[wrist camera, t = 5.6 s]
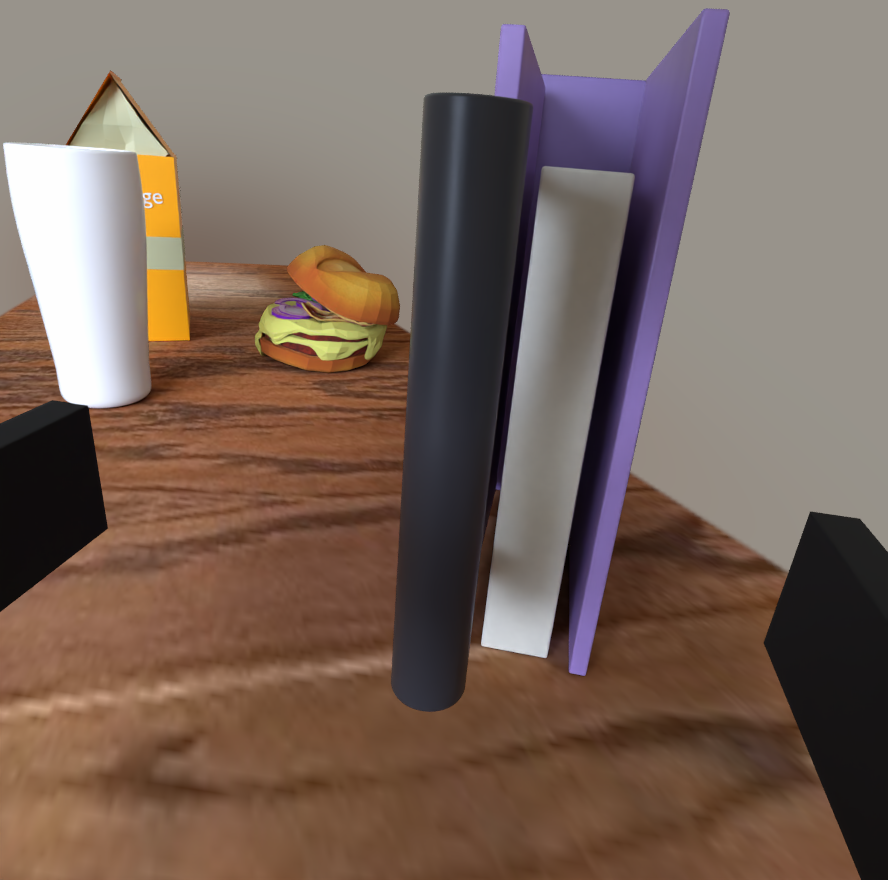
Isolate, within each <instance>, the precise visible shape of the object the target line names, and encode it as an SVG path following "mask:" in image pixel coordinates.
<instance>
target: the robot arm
mask: <svg viewBox="0 0 888 880" xmlns="http://www.w3.org/2000/svg"><path fill="white" fill-rule="evenodd" d="M106 529H108V527H107V520H106V514H105V508H104V502H103V495H102V489H101V483H100V477H99V471H98V464H97V458H96V452H95V446H94V439H93V433H92V427H91V421H90V414H89V408H88V406H87V405H80V404H74V403H67V402H60V401H53V400H52V401H50V402H48V403H45V404H43V405H41V406H39V407H36V408H34V409H32V410H30V411H27V412H25V413H23V414H21V415H18V416H16V417H14V418H12V419H9V420H7V421H5V422H3V423H0V612H1V611H2V610H3V609H5V608H6V607H7V606H8V605H10V604H11V603H12V602H14V601H15V600H16V599H17V598H19V597H20V596H21V595H23V594H24V593H25V592H27V591H28V590H29V589H30V588H32V587H33V586H34V585H36V584H37V583H38V582H39V581H41V580H42V579H43V578H45V577H46V576H47V575H48V574H50V573H51V572H52V571H54V570H55V569H56V568H57V567H59V566H60V565H61V564H63V563H64V562H65V561H66V560H68V559H69V558H70V557H72V556H73V555H74V554H75V553H77V552H78V551H79V550H81V549H82V548H83V547H84V546H86V545H87V544H88V543H90V542H91V541H92V540H93V539H95V538H96V537H97V536H99V535H100V534H101V533H102V532H104V531H105V530H106ZM764 645H765V647H766V650H767V652H768V654H769V657H770V659H771V662H772V664H773V667H774V669H775V671H776V674H777V676H778V679H779V681H780V684H781V686H782V688H783V691H784V693H785V696H786V698H787V701H788V703H789V705H790V708H791V710H792V713H793V715H794V718H795V720H796V722H797V725H798V727H799V730H800V732H801V735H802V737H803V739H804V742H805V744H806V747H807V749H808V752H809V754H810V756H811V759H812V761H813V764H814V766H815V769H816V771H817V774H818V776H819V778H820V781H821V783H822V786H823V788H824V791H825V793H826V795H827V798H828V800H829V803H830V805H831V808H832V810H833V812H834V815H835V817H836V820H837V822H838V825H839V827H840V829H841V832H842V834H843V837H844V839H845V842H846V844H847V846H848V849H849V851H850V854H851V856H852V859H853V861H854V863H855V866H856V868H857V871H858V873H859V876H860V878H861V880H888V552H887V551H886V550H885V548H884V547H883V546H882V545H881V544H880V542H879V541H878V540H877V539H876V538H875V536H874V535H873V534H872V533H871V532H870V530H869V529H868V528H867V527H866V526H865V524H864V523H863V522H862V521H861V520H860V519H857V518H851V517H844V516H837V515H830V514H823V513H816V512H810V514H809V517H808V519H807V522H806V525H805V528H804V531H803V533H802V536H801V539H800V542H799V545H798V547H797V550H796V553H795V556H794V559H793V562H792V565H791V567H790V570H789V573H788V576H787V578H786V581H785V584H784V587H783V590H782V593H781V595H780V598H779V601H778V604H777V607H776V610H775V612H774V615H773V618H772V621H771V624H770V626H769V629H768V632H767V635H766V638H765V641H764Z"/></svg>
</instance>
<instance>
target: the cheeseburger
mask: <svg viewBox="0 0 888 880" xmlns="http://www.w3.org/2000/svg"><path fill="white" fill-rule="evenodd" d="M287 271H288V273H289V275H290V276H291V278H292V279H293V280H294V281H295V282H296V283H297V284H298V285H299V286H300V288H301V289H302V290H303V291H304V292H303V291H302V292H298V293H293V296H295V297H299V298H282V299H279V300H277V301H275V303H274V304H271V305H268V306H267V308H266V310H265V311H264V313H263V315H262V317H261V319H260V320H261V321H260V323H259V329H260V330H259V331H258V332H257V334H256V335H255V345H256V347H257V349H258V351H259V352H260V354H261V355H262V356H264V355H268V356H269V357H271V358H273V359H274V360H277V361H280V362H283V363H285V364H288V365H291V366H295V367H298V368H301V369H304V370H308V371H317V372H327V373H330V372H339V371H347V370H351V369H354V368H357V367H360V366H363V365H365V364H367V363H368V362H369V361H370V360H371V359H372V358H373V357H374V356H375V354H376V353H377V352H378V350H379V349H380V347H381V346H382V342H383V338H384V335H385V332H386V328H387V325H390V324H394V323H396V322H397V320H398V318H399V310H400V304H399V298H398V293H397V290H396V288H395V287H394V285H393V283H392V282H391V281H390V280H389V279H388V278H387V277H385V276H383V275H379V274H371V273H366V272H365V271H364V269H363V268H362V267H361V266H360V265H359V264H358V262H357V261H356V260H355V259H353V258H352V257H351V256H349V255H348V254H346V253H344V252H342V251H340V250H338V249H335V248H333V247H330V246H326V245H322V246H315V247H313V248H311V249H309V250H307V251H306V252H304V253H302V254H300V255H298V256H297V257H296V258H295V259H294V260H293V261H292V262H291V263H290V264H289V266H288V268H287Z"/></svg>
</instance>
